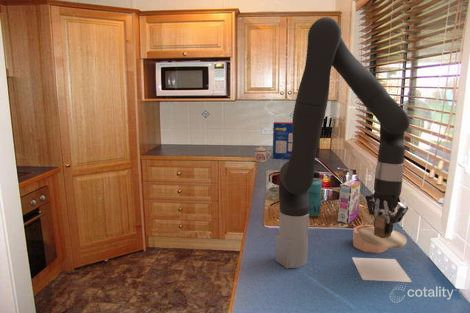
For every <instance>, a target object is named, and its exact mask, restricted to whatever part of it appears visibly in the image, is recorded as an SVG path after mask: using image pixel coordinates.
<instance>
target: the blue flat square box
mask: <svg viewBox="0 0 470 313" xmlns="http://www.w3.org/2000/svg"><path fill="white" fill-rule="evenodd" d="M292 122H293V121H292ZM292 122H291V121H290V122H287V121H286V122H285V121H284V122H283V121H281V122H280V121H274V122H273V128H272V160H290V156H291V151H292V143H293V137H292Z"/></svg>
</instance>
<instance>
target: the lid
mask: <svg viewBox="0 0 470 313" xmlns="http://www.w3.org/2000/svg"><path fill="white" fill-rule="evenodd" d="M374 219H375V228H374V227H364V228H362V229H360V230H359V237H360V239H362V240H363V241H364V242H366V243H369V244H371V245H374V246H378V247H384V248H388V249H399V248H403V247H405V246H406V245H407V242H408V240H407V239H408V238H407V237H406V235H404V234H403V233H401V232H399V231H397V230H394V229H393V232H392V233H391V234H389V235H386V234H385V224H386V223H387V222H386V215H385V213H383V214H382V215H378V216H376V218H374Z"/></svg>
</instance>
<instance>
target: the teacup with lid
mask: <svg viewBox="0 0 470 313" xmlns="http://www.w3.org/2000/svg"><path fill="white" fill-rule="evenodd" d="M267 154H269V156H267ZM271 155H272V154H271V152H270V151H268V150H267V149H266V148H265V147H263V146H262V145H259V146H258V147H257V148H255V149H254V161H255V163H265V162H267V159H270V158H271Z"/></svg>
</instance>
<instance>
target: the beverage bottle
mask: <svg viewBox="0 0 470 313" xmlns="http://www.w3.org/2000/svg"><path fill="white" fill-rule="evenodd" d="M320 178H321V174H320V172H318V171H314V177H313V183H312V185H311V187H310V189H309V190H308V201H309V217H310V216H311V217H317V216H319V215H320V214H321V208H322V207H321V205H322V203H321V202H322V185H323V183H322V181H321V180H320Z"/></svg>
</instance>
